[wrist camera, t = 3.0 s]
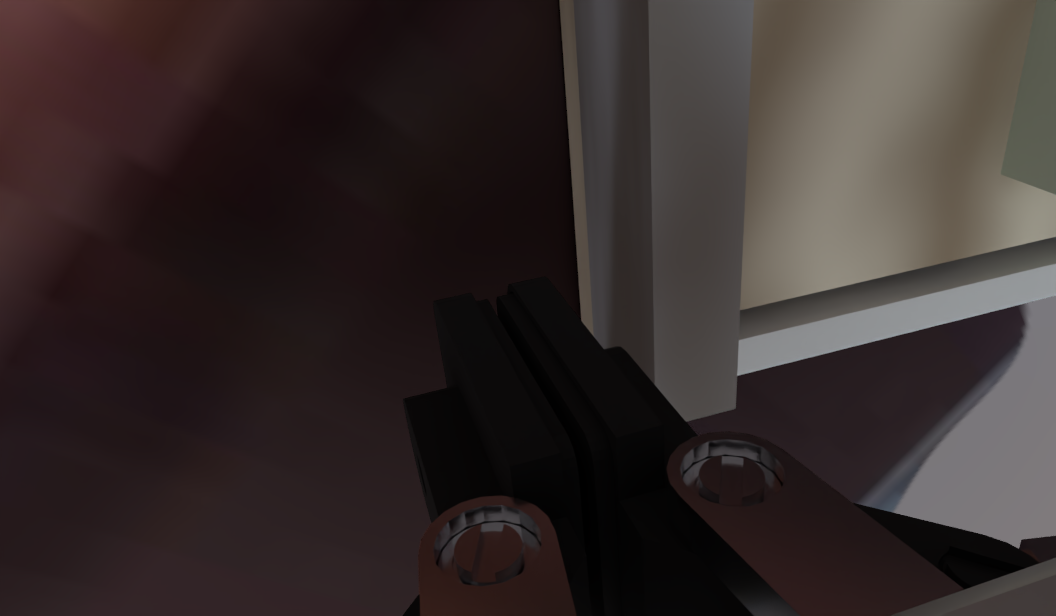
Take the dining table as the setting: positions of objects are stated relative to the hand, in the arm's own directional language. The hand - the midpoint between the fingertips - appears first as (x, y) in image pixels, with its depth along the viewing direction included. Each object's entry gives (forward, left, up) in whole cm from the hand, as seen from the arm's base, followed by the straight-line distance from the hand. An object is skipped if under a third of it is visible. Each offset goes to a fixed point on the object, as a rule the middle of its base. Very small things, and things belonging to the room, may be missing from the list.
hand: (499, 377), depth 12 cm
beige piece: (-16, 0, -9) cm, 18 cm away
